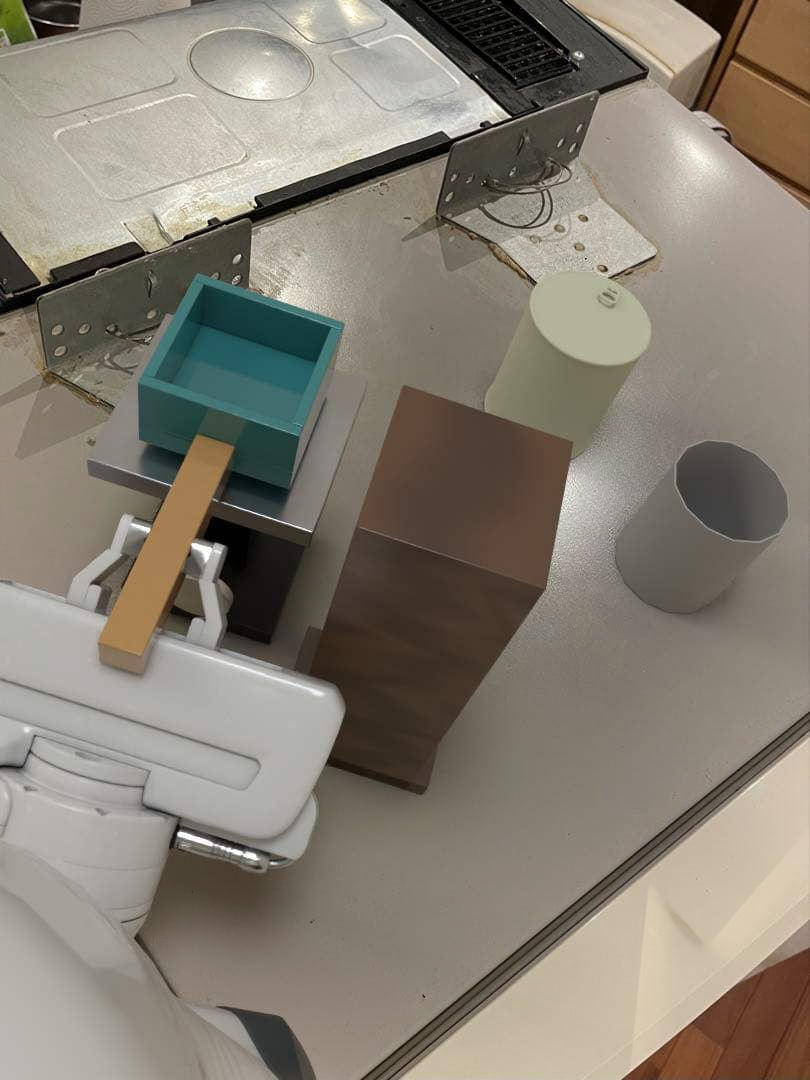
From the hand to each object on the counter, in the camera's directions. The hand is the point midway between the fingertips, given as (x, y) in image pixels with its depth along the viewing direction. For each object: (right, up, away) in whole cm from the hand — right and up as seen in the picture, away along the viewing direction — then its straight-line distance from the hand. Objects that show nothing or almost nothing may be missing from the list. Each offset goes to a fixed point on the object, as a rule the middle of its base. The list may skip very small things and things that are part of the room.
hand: (176, 529), depth 46 cm
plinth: (+8, -11, +17) cm, 22 cm away
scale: (-2, -2, +20) cm, 21 cm away
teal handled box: (0, +2, +3) cm, 4 cm away
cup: (+30, -2, +29) cm, 42 cm away
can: (+21, +9, +34) cm, 41 cm away
